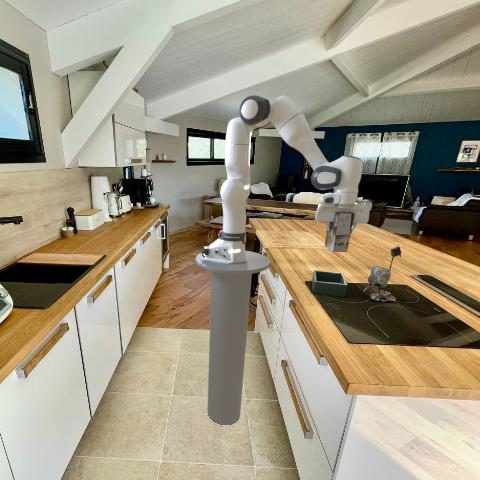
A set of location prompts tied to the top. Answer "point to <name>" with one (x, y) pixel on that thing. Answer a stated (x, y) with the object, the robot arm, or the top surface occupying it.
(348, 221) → the coffee box
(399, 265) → the top surface
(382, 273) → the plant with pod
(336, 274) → the open box frame
